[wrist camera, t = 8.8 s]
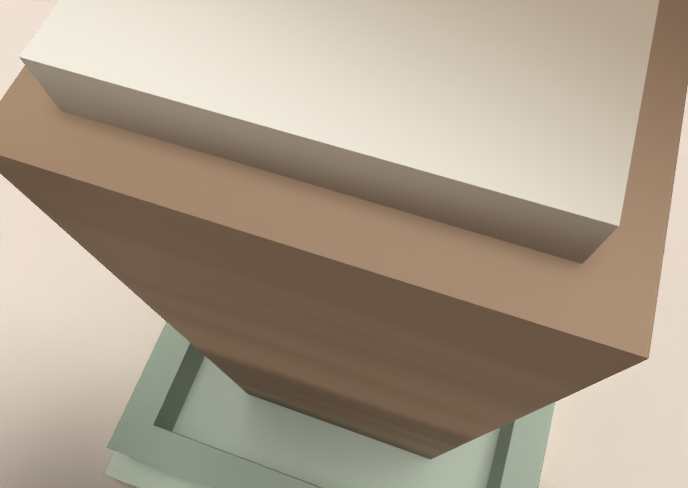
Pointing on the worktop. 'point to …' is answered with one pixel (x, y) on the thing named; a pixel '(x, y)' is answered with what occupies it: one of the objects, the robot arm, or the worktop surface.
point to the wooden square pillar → (369, 190)
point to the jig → (287, 439)
